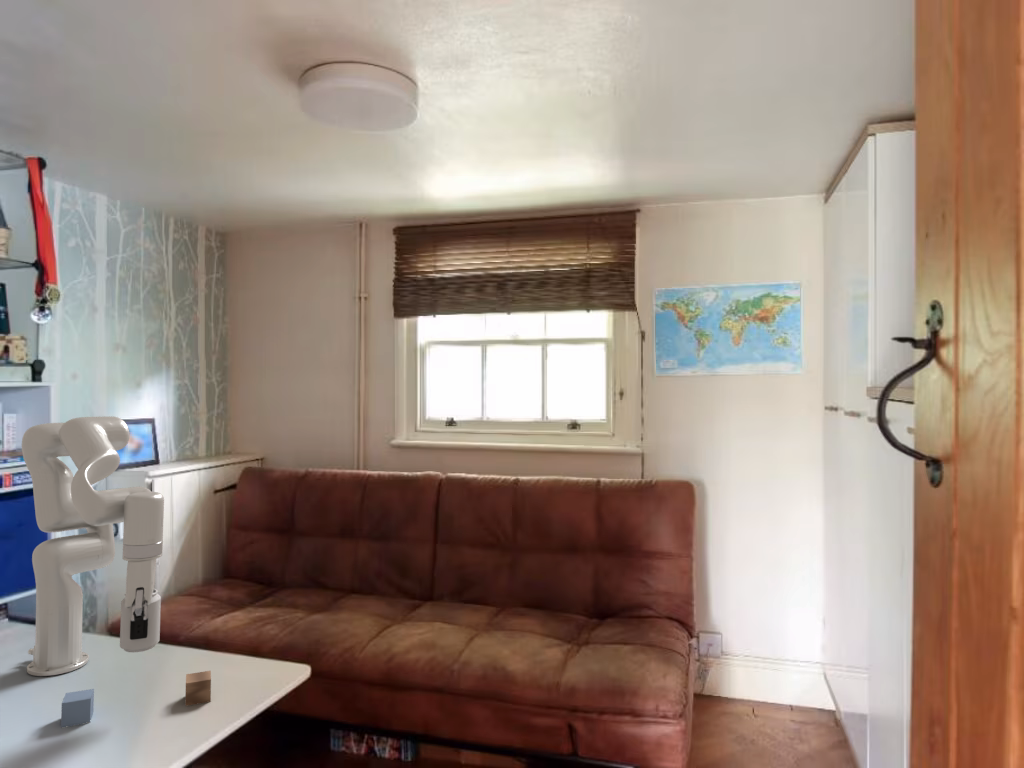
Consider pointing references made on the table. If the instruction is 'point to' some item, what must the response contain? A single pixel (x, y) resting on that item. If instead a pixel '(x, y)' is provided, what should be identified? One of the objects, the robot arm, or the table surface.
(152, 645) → the can
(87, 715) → the slate block
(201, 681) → the walnut block
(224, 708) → the table surface
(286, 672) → the table surface
